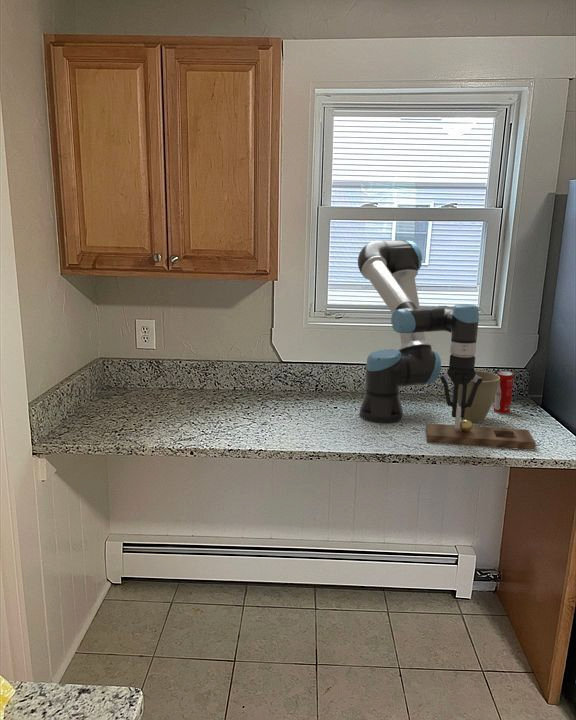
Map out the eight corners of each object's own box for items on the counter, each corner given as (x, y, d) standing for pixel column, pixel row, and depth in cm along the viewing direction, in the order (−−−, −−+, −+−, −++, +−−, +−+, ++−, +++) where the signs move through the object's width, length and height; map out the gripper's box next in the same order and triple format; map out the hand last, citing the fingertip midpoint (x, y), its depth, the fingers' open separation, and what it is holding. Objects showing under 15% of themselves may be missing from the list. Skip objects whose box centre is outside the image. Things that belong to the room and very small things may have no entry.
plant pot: (484, 429, 193) (488, 384, 189) (443, 419, 203) (447, 375, 199) (502, 418, 204) (507, 375, 200) (463, 409, 213) (466, 367, 210)
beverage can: (507, 409, 214) (511, 370, 210) (512, 415, 207) (516, 374, 204) (491, 408, 214) (494, 369, 211) (495, 414, 208) (499, 374, 204)
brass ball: (457, 429, 183) (464, 419, 181) (456, 425, 186) (463, 415, 185) (468, 436, 183) (475, 426, 181) (467, 431, 186) (474, 421, 185)
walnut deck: (426, 442, 182) (427, 435, 181) (425, 430, 192) (426, 423, 192) (534, 450, 176) (535, 442, 176) (527, 437, 187) (527, 429, 186)
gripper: (441, 356, 176) (436, 429, 182) (486, 358, 174) (479, 432, 179) (440, 351, 183) (435, 421, 189) (483, 353, 181) (477, 424, 186)
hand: (457, 427), depth 184 cm, fingers closed
